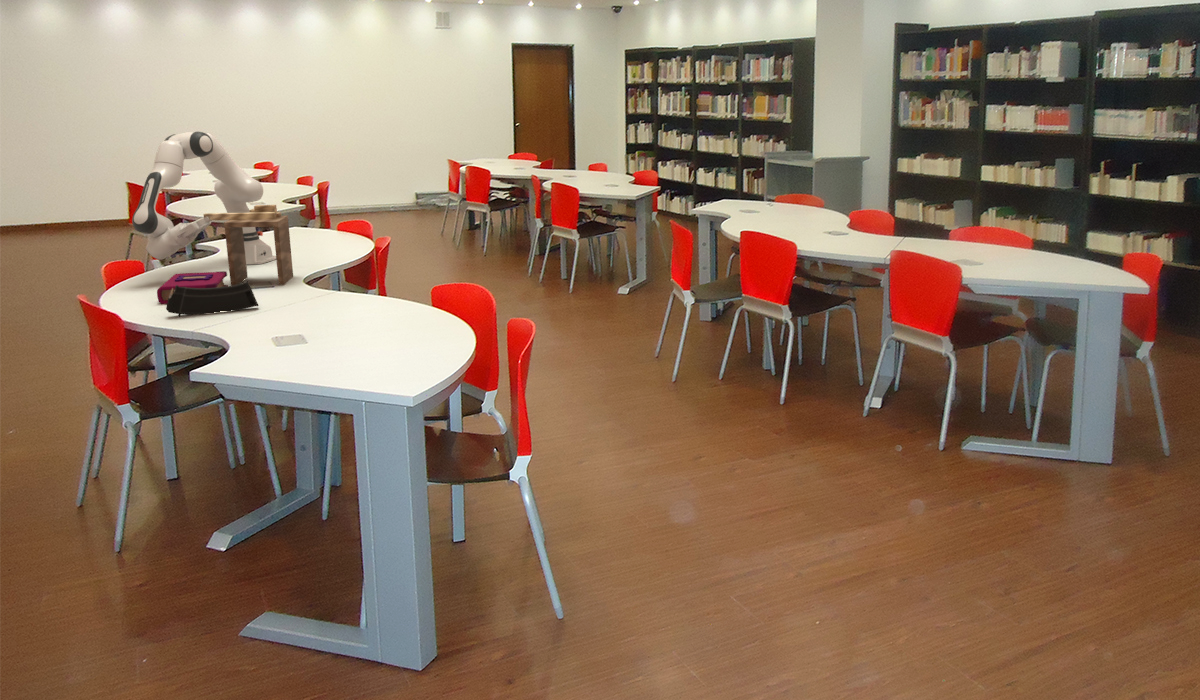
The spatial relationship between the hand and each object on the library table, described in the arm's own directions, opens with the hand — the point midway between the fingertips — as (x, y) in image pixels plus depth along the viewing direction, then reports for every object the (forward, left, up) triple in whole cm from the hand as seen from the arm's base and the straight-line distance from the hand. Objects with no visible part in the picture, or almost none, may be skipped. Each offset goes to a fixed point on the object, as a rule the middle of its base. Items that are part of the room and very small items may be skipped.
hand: (212, 216), depth 394 cm
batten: (-6, +10, -1) cm, 11 cm away
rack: (-9, +15, -27) cm, 33 cm away
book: (+24, +11, -28) cm, 38 cm away
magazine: (+44, +41, -28) cm, 66 cm away
